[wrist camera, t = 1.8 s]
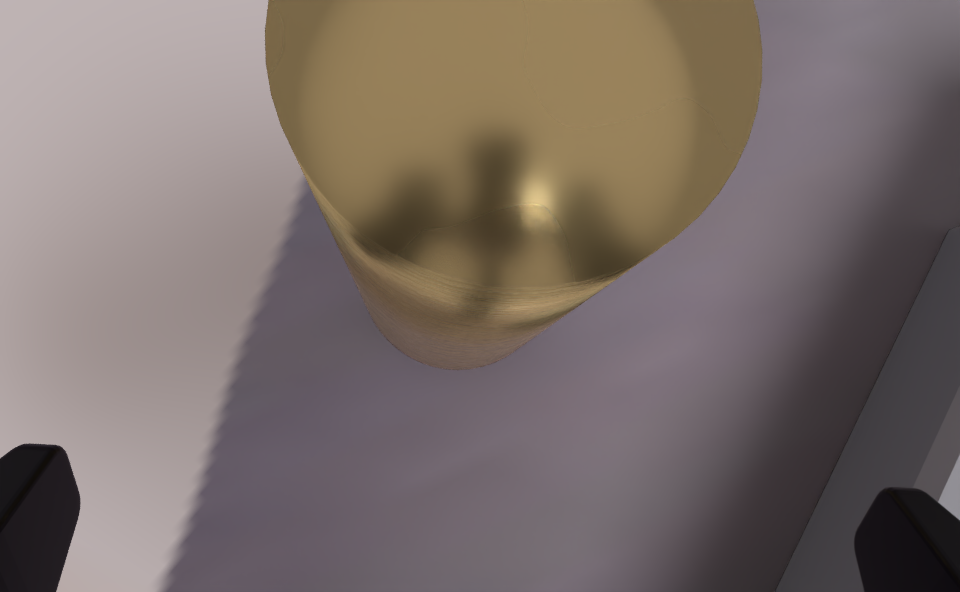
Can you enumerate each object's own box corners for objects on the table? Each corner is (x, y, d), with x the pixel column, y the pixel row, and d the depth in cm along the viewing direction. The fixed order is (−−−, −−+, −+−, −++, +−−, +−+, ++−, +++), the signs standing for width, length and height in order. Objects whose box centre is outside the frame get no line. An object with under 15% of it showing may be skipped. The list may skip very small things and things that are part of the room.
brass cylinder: (492, 405, 20) (617, 383, 8) (323, 306, 20) (163, 117, 8) (586, 241, 21) (842, -30, 8) (423, 146, 21) (431, -267, 8)
